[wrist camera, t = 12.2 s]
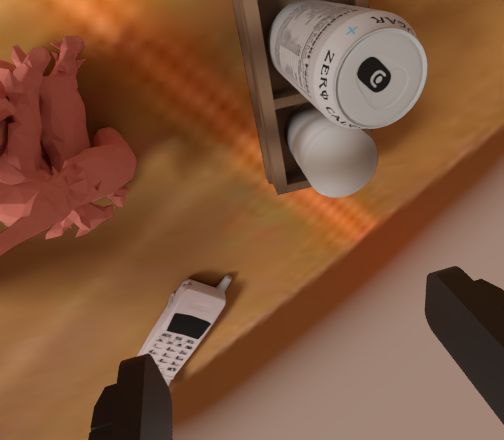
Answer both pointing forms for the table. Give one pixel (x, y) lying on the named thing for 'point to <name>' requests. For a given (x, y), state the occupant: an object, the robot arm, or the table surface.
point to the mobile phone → (184, 324)
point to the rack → (298, 118)
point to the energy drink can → (349, 61)
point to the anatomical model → (54, 150)
